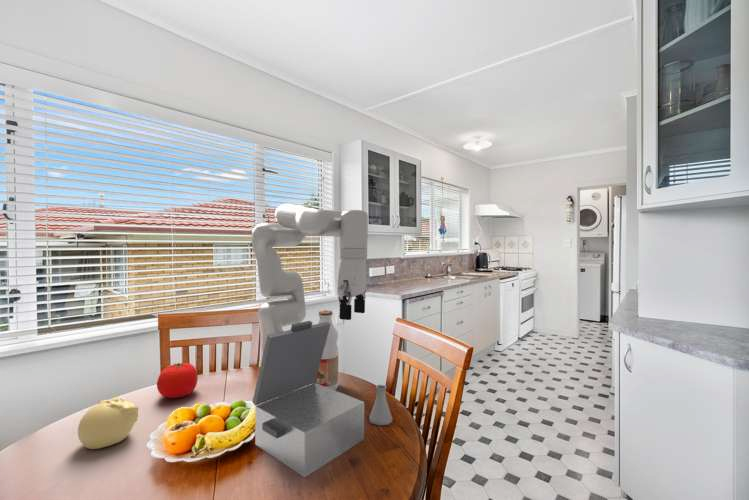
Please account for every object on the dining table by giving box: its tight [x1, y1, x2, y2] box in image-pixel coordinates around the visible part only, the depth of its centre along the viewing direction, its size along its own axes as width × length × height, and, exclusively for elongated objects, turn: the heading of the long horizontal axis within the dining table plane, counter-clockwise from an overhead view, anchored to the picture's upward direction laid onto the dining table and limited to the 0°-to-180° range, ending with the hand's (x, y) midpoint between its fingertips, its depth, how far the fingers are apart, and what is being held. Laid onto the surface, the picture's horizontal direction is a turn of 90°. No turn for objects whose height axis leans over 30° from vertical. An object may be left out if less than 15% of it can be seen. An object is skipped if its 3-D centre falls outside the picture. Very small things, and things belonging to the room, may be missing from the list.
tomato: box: [156, 362, 199, 399], centre depth 118 cm, size 12×13×11 cm
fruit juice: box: [313, 309, 339, 391], centre depth 125 cm, size 9×9×28 cm
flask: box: [368, 384, 394, 426], centre depth 102 cm, size 7×7×10 cm
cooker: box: [254, 383, 365, 478], centre depth 90 cm, size 20×25×10 cm
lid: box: [252, 320, 331, 406], centre depth 95 cm, size 22×20×4 cm
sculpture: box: [77, 396, 139, 450], centre depth 90 cm, size 11×12×11 cm
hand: (352, 315), depth 96 cm, fingers open, 9 cm apart
